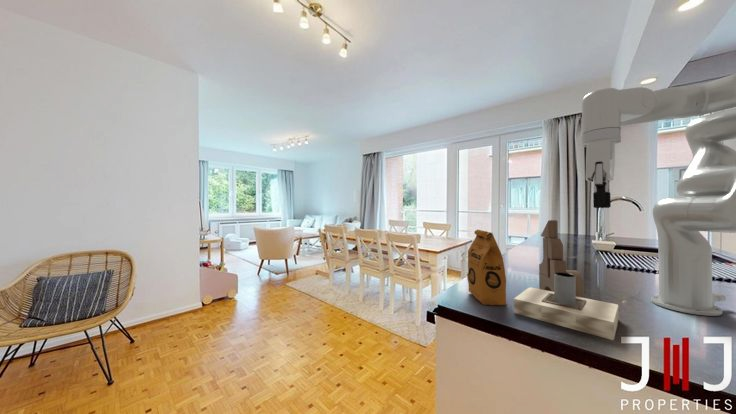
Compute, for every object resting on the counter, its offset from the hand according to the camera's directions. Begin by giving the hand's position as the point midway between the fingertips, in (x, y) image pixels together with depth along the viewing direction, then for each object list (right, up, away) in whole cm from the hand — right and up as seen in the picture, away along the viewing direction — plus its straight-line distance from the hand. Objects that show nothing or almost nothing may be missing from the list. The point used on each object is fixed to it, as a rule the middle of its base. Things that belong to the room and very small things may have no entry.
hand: (602, 207), depth 67 cm
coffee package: (-24, -30, +14) cm, 41 cm away
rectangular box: (-9, -29, +1) cm, 31 cm away
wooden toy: (0, -29, +15) cm, 33 cm away
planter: (-9, -29, +1) cm, 30 cm away
